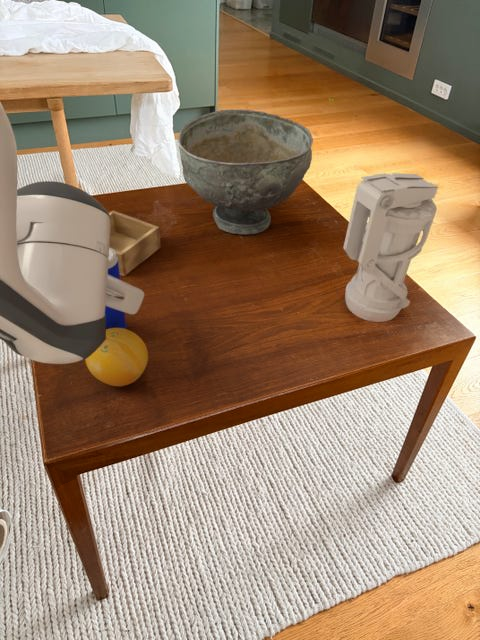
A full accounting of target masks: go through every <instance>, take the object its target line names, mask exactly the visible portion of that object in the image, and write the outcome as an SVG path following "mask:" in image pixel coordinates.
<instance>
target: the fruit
mask: <svg viewBox="0 0 480 640" xmlns="http://www.w3.org/2000/svg"><path fill="white" fill-rule="evenodd" d="M84 362H85V365H86V367H87V369H88V371H89V373H91V375H92V376H93V377H94V378H96V379H97V380H98V381H100V382H101V383H103V384H106V385H108V386H112V387H125V386H128V385H131V384H133V383H135V382H136V381H137V380H138V379H139V378H140V377H141V376H142V374H143V373H144V371H145V370H146V367H147V365H148V363H149V352H148V347H147V346H146V344H145V342H144V341H143V339H142V338H141V337H140V336H139V335H138V334H137V333H135V332H133V331H131V330H130V329H127V328H126V329H123V328H110V329H106V340H105V341H104V342H103V343H102V345H101V346H100V347H99V348H98V349H97V350H96V351H95V352H94V353H93V354H92V355H90V356H89V357H88V358H87V359H85V360H84Z"/></svg>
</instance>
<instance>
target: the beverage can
mask: <svg viewBox="0 0 480 640" xmlns="http://www.w3.org/2000/svg"><path fill="white" fill-rule="evenodd" d="M108 259H109V263H108V274H109V275H111V276H113V277H115V278H117V279H119V280H121V275H120V272H119V264H118V257H117V255H116V254H115V251H114V250H113V249H111V248H109V258H108ZM105 315H106V329H110V328H123V329H127V320H126V313H125V312H122V311H119V310H116V309H113V308H110V307H107V306H105Z"/></svg>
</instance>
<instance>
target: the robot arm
mask: <svg viewBox="0 0 480 640" xmlns="http://www.w3.org/2000/svg"><path fill="white" fill-rule="evenodd" d="M17 147H18V146H17V141H16V137H15V132H14V130H13V126H12V123H11V121H10V119H9V116H8V115H7V113H6V110H5V108H4V106H3V104H2V102H1V101H0V340H2V341H3V342H4V343H5V345H6V346H7V347H8V348H10V349H11V350H12V351H13V352H14V353H15V354H16V355H19V356H21V357H25V358H26V359H29V360H31V361H34V362H37V363H42V364H50V365H67V364H73V363H77V362H82V361H85V359H87V358H88V357H89V356H90V355H92V354H93V353H94V352H95V351H96V350H97V349H98V348H99V347H100V346H101V345H102V343H103V342H104V341H105V340H106V315H105V306H107V307H110V308H113V309H116V310H119V311H122V312H125V314H128V315H136V314H137V313H138V311H139V310H140V308H141V305H142V303H143V301H144V298H145V292H144V290H142V289H141V288H138V287H137V286H134V285H132V284H130V283H128V282H126V281H124V280H121V279H120V280H119V279H117V278H115V277H113V276H111V275H109V274H108V263H109V259H108V258H109V244H110V219H111V217H110V215H109V213H110V212H108V210H107V209H106V208H105V207H104V205H102V203H100V202H99V201H98V200H97V199H96V198H95V197H93V196H92V195H91V194H89V193H88V192H87V191H85V190H83V189H81V188H78V187H76V186H74V185H71V184H69V183H65V182H60V181H53V180H52V181H51V180H50V181H49V180H48V181H47V180H46V181H36V182H32V183H29V184H26V185H24V186H22V187H19V188H18V165H19V163H18V148H17Z"/></svg>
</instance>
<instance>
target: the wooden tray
mask: <svg viewBox="0 0 480 640" xmlns="http://www.w3.org/2000/svg"><path fill="white" fill-rule="evenodd" d="M108 213H109V215H110V217H111V219H110V244H109V248H111V249H113V250H114V251H115V254H116V255H117V257H118V264H119V272H120V276H122V277H126V276H127V275H128V274H130V273H131V271H132V270H134V269H135V268H136V267H138V266H140V264H142V263H143V262H144V261H145V260H147V259H148V258H150V256H152V255H154V253H156V252H157V251H158V250H159V249H161V248H162V247H161V234H160V233H161V232H160V226H157V225H155V224H152V223H149V222H147V221H143V220H141V219H138V218H135V217H133V216H130V215H127V214H124V213H121V212H119V211H116V210H111V211H109V212H108Z"/></svg>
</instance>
